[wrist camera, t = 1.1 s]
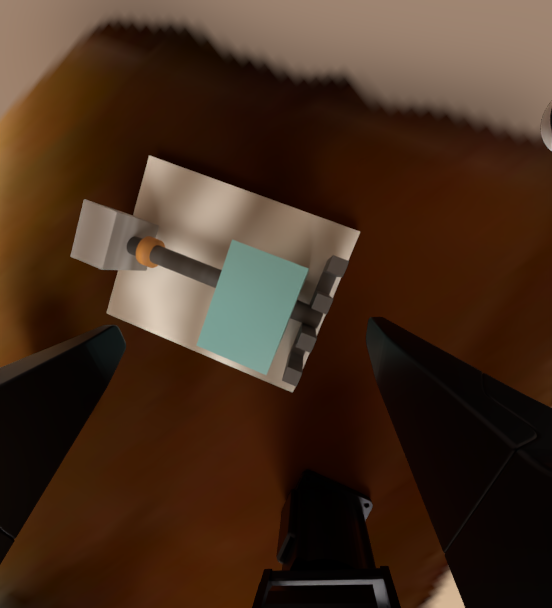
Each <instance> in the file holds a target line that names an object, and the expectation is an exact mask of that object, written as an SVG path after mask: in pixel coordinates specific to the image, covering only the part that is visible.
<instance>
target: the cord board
mask: <svg viewBox="0 0 552 608" xmlns="http://www.w3.org/2000/svg"><path fill="white" fill-rule="evenodd" d="M359 234H360V231H357V230H354V229H352V228H349V227H346V226H343V225H340V224H338V223H335V222H332V221H329V220H327V219H324V218H321V217H318V216H316V215H313V214H310V213H307V212H304V211H302V210H299V209H296V208H293V207H291V206H288V205H285V204H282V203H280V202H277V201H274V200H271V199H269V198H266V197H263V196H260V195H257V194H255V193H252V192H249V191H246V190H244V189H241V188H238V187H235V186H233V185H230V184H227V183H224V182H222V181H219V180H216V179H213V178H210V177H208V176H205V175H202V174H199V173H197V172H194V171H191V170H188V169H186V168H183V167H180V166H177V165H174V164H172V163H169V162H166V161H163V160H161V159H158V158H155V157H152V156H150V155H149V158H148V162H147V165H146V169H145V173H144V177H143V180H142V184H141V188H140V191H139V195H138V199H137V203H136V206H135V210H134V214H133V215H130V214H127V213H124V212H121V211H118V210H115V209H112V208H109V207H106V206H103V205H100V204H97V203H94V202H92V201H89V200H86V199H84V202H83V206H82V210H81V214H80V219H79V223H78V227H77V231H76V236H75V240H74V244H73V248H72V252H71V257H73V258H75V259H78V260H80V261H82V262H85V263H87V264H90V265H92V266H95V267H97V268H99V269H102V270H118V273H117V277H116V280H115V284H114V288H113V292H112V295H111V299H110V303H109V306H108V310H107V314H110V315H112V316H114V317H117V318H119V319H121V320H124V321H126V322H128V323H131V324H133V325H135V326H138V327H140V328H142V329H145V330H147V331H149V332H152V333H154V334H156V335H159V336H161V337H163V338H166V339H168V340H170V341H173V342H175V343H177V344H180V345H182V346H184V347H187V348H189V349H191V350H194V351H196V352H199V353H201V354H203V355H206V356H208V357H210V358H213V359H215V360H217V361H220V362H222V363H224V364H227V365H229V366H231V367H234V368H236V369H238V370H241V371H243V372H245V373H248V374H250V375H252V376H255V377H257V378H259V379H262V380H264V381H266V382H269V383H271V384H273V385H276V386H278V387H280V388H283V389H285V390H287V391H290V392H292V393H293V391H294V389H295V386H296V387H297V384H298V382H299V380H300V377H301V375H302V370H303V367H304V365H305V362H306V360H307V358H308V355H309V353H311V351H312V349H313V346H314V344H315V342H316V339H317V334H318V331H319V329H320V327H321V324H322V322H323V320H324V317H325V315H327V313H328V311H329V308H330V306H331V304H332V301H333V296H334V293H335V291H336V289H337V286H338V284H339V282H340V279H341V277H343V275H344V273H345V270H346V268H347V266H348V263H349V261H348V260H349V258H350V255H351V253H352V251H353V248H354V246H355V243H356V241H357V239H358V236H359ZM232 240H235V241H238V242H240V243H243V244H245V245H248V246H251V247H253V248H256V249H259V250H261V251H264V252H266V253H269V254H272V255H274V256H277V257H280V258H282V259H285V260H287V261H290V262H293V263H295V264H298V265H301V266H303V267H306V268H308V269H309V272H308V275H307V277H306V280H305V282H304V285H303V287H302V289H301V291H300V294H299V296H298V299H297V301H296V304H295V306H294V309H293V311H292V314H291V317H290V319H289V322H288V325H287V328H286V330H285V333H284V335H283V338H282V340H281V342H280V345H279V347H278V349H277V352H276V354H275V356H274V359H273V361H272V363H271V366H270V368H269V370H268V373H267V375H264V374H262V373H260V372H257V371H255V370H253V369H250V368H248V367H246V366H243V365H241V364H238V363H236V362H234V361H231V360H229V359H227V358H224V357H222V356H220V355H217V354H215V353H213V352H210V351H208V350H206V349H203V348H201V347H198V346H196V345H197V342H198V339H199V336H200V333H201V330H202V327H203V324H204V321H205V318H206V315H207V312H208V309H209V306H210V303H211V301H212V298H213V295H214V292H215V289H216V286H217V283H218V280H219V277H220V274H221V271H222V268H223V265H224V262H225V259H226V256H227V253H228V250H229V247H230V244H231V241H232Z"/></svg>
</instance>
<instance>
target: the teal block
mask: <svg viewBox="0 0 552 608" xmlns="http://www.w3.org/2000/svg"><path fill="white" fill-rule="evenodd" d="M308 272H309V269H308V268H306V267H303V266H301V265H298V264H295V263H293V262H290V261H287V260H285V259H282V258H280V257H277V256H274V255H272V254H269V253H266V252H264V251H261V250H259V249H256V248H253V247H251V246H248V245H245V244H243V243H240V242H238V241H235V240H232V241H231V244H230V247H229V250H228V253H227V256H226V259H225V262H224V265H223V268H222V271H221V274H220V277H219V280H218V283H217V286H216V289H215V292H214V295H213V298H212V301H211V303H210V306H209V309H208V312H207V315H206V318H205V321H204V324H203V327H202V330H201V333H200V336H199V339H198V342H197V345H196V346H198V347H201V348H203V349H206V350H208V351H210V352H213V353H215V354H217V355H220V356H222V357H224V358H227V359H229V360H231V361H234V362H236V363H238V364H241V365H243V366H246V367H248V368H250V369H253V370H255V371H257V372H260V373H262V374H264V375H267V373H268V370H269V368H270V366H271V363H272V361H273V359H274V356H275V354H276V352H277V349H278V347H279V345H280V342H281V340H282V338H283V335H284V333H285V330H286V328H287V325H288V322H289V319H290V317H291V314H292V311H293V309H294V306H295V304H296V301H297V299H298V296H299V294H300V291H301V289H302V287H303V285H304V282H305V280H306V277H307V275H308Z"/></svg>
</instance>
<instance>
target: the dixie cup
mask: <svg viewBox="0 0 552 608" xmlns="http://www.w3.org/2000/svg"><path fill="white" fill-rule="evenodd" d="M541 136H542V139H543V141H544V143H545V145H546V146H547V147H548V148H549V150H551V151H552V101H551V102H550V103H549V105H548V106H547V108H546V110H545V112H544V114H543V117H542V121H541Z"/></svg>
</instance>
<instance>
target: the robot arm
mask: <svg viewBox="0 0 552 608" xmlns="http://www.w3.org/2000/svg"><path fill="white" fill-rule="evenodd" d="M366 344H367V348H368V352H369V355H370V359H371V363H372V367H373V371H374V375H375V378H376V382H377V385H378V387H379V390H380V393H381V395H382V398H383V400H384V403H385V405H386V408H387V410H388V413H389V415H390V418H391V420H392V423H393V425H394V428H395V431H396V433H397V436H398V438H399V441H400V443H401V446H402V448H403V451H404V453H405V456H406V458H407V461H408V463H409V466H410V468H411V471H412V474H413V476H414V479H415V481H416V484H417V486H418V489H419V491H420V494H421V496H422V499H423V501H424V504H425V506H426V509H427V511H428V514H429V517H430V519H431V522H432V524H433V527H434V529H435V532H436V534H437V537H438V539H439V542H440V544H441V547H442V549H443V552H444V553H445V557H446V560H447V563H448V565H449V568H450V570H451V573H452V575H453V578H454V580H455V583H456V585H457V588H458V590H459V593H460V595H461V598H462V600H463V603H464V606H465V608H552V408H550V407H548V406H546V405H544V404H542V403H540V402H538V401H536V400H534V399H532V398H530V397H528V396H526V395H524V394H522V393H520V392H519V391H517V390H515V389H513V388H511V387H509V386H507V385H505V384H504V383H502V382H500V381H498V380H496V379H494V378H493V377H491V376H489V375H487V374H485V373H483V374H482V372H481V371H480V370H478V369H476V368H474V367H472V366H471V365H469V364H467V363H465V362H463V361H462V360H460V359H458V358H456V357H454V356H452V355H451V354H449V353H447V352H445V351H443V350H441V349H440V348H438V347H436V346H434V345H432V344H431V343H429V342H427V341H425V340H423V339H421V338H420V337H418V336H416V335H414V334H412V333H411V332H409V331H407V330H405V329H403V328H401V327H400V326H398V325H396V324H394V323H392V322H390V321H389V320H387V319H385V318H383V317H371V318H369V320H368V327H367V334H366ZM125 349H126V343H125V340H124V338H123V336H122V333H121V331H120V329H119V327H118V326H116V325H103V326H101V327H98V328H96V329H93V330H91V331H89V332H86V333H84V334H81V335H79V336H76V337H74V338H72V339H69V340H67V341H64V342H62V343H59V344H57V345H55V346H52V347H50V348H47V349H45V350H42V351H40V352H38V353H35V354H33V355H30V356H28V357H25V358H23V359H21V360H18V361H16V362H13V363H11V364H8V365H6V366H4V367H1V368H0V564H1V562H2V561H3V559H4V557H5V556H6V554H7V552H8V551H9V549H10V547H11V546H12V544H13V542H14V539H15V538H16V537H17V535H18V534H19V532H20V530H21V529H22V527H23V525H24V524H25V522H26V520H27V519H28V517H29V515H30V514H31V512H32V510H33V509H34V507H35V506H36V504H37V502H38V501H39V499H40V497H41V496H42V494H43V492H44V491H45V489H46V487H47V486H48V484H49V482H50V481H51V479H52V477H53V476H54V474H55V472H56V471H57V469H58V467H59V466H60V464H61V463H62V461H63V459H64V458H65V456H66V454H67V453H68V451H69V449H70V448H71V446H72V444H73V443H74V441H75V439H76V438H77V436H78V434H79V433H80V431H81V429H82V428H83V426H84V424H85V423H86V421H87V420H88V418H89V416H90V415H91V413H92V411H93V410H94V408H95V406H96V405H97V403H98V401H99V400H100V398H101V396H102V395H103V393H104V391H105V390H106V388H107V386H108V384H109V382H110V380H111V378H112V376H113V374H114V372H115V370H116V368H117V366H118V364H119V362H120V360H121V357H122V355H123V353H124V351H125ZM306 476H309V478H307V477H306ZM364 503H367V504H364ZM371 509H372V502H371V499H370V498H369V497H367V496H365V495H363V494H361V493H358V492H356V491H354V490H352V489H350V488H347V487H345V486H343V485H341V484H339V483H336V482H334V481H332V480H330V479H327V478H325V477H323V476H321V475H319V474H316V473H314V472H312V471H310V470H305V471H304V472H303V473H302V476H301V478H300V480H299V482H298V484H297V487H296V489H293V490H291V492H290V494H289V496H288V498H287V501H286V503H285V505H284V507H283V509H282V514H281V522H280V531H279V539H278V548H277V560H278V562H280V563H282V564H283V565H282V571H272V569H264V572H263V575H262V579H261V582H260V583H259V586H258V590H257V593H256V596H255V600H254V603H253V606H252V608H401V606H400V603H399V600H398V597H397V593H396V590H395V587H394V583H393V580H392V577H391V574H390V570H389V567H388V566H380V568H376V566H375V562H374V557H373V553H372V548H371V544H370V540H369V535H368V531H367V526H366V522H365V520H366V518H367V516H368V514H369V513H370V511H371Z"/></svg>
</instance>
